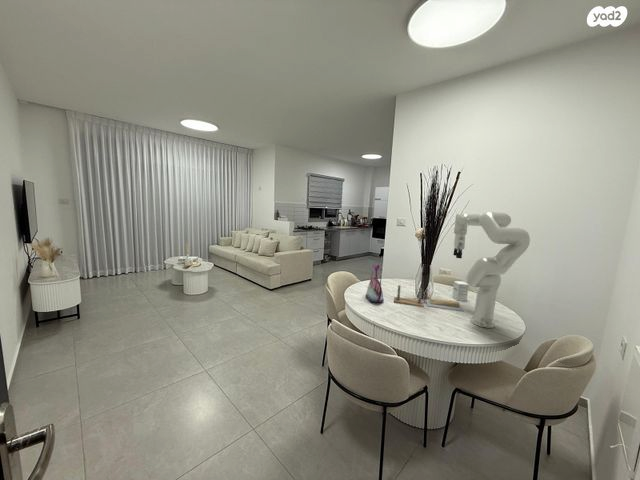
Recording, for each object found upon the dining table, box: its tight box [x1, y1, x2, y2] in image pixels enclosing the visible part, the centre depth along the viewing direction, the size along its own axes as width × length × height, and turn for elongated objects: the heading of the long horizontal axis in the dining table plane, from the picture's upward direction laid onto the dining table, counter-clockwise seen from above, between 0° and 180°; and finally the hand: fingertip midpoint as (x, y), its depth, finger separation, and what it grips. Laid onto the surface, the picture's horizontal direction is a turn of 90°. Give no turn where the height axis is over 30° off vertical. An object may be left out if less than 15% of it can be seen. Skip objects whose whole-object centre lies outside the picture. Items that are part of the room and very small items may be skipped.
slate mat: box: [425, 299, 465, 312], centre depth 182 cm, size 12×22×1 cm, turn 73°
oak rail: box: [429, 297, 461, 308], centre depth 182 cm, size 3×18×3 cm, turn 73°
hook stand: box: [393, 284, 425, 308], centre depth 185 cm, size 10×19×10 cm, turn 73°
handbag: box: [365, 264, 385, 303], centre depth 187 cm, size 21×10×25 cm, turn 7°
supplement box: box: [451, 280, 470, 302], centre depth 195 cm, size 7×7×13 cm
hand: (457, 256), depth 182 cm, fingers open, 9 cm apart
